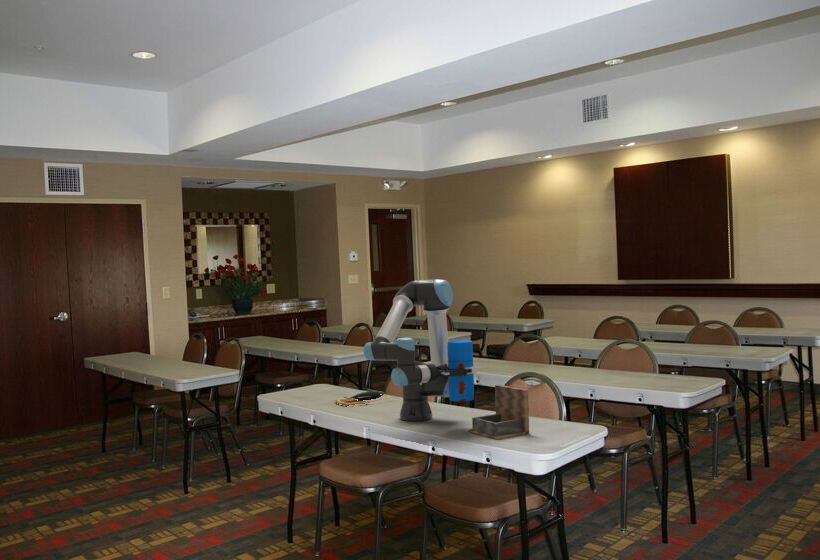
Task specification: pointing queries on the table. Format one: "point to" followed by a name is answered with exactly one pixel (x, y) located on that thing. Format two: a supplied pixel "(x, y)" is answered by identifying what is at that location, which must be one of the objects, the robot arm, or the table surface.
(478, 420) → the mount board
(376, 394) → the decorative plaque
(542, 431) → the table surface
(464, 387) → the thermos
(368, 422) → the table surface
